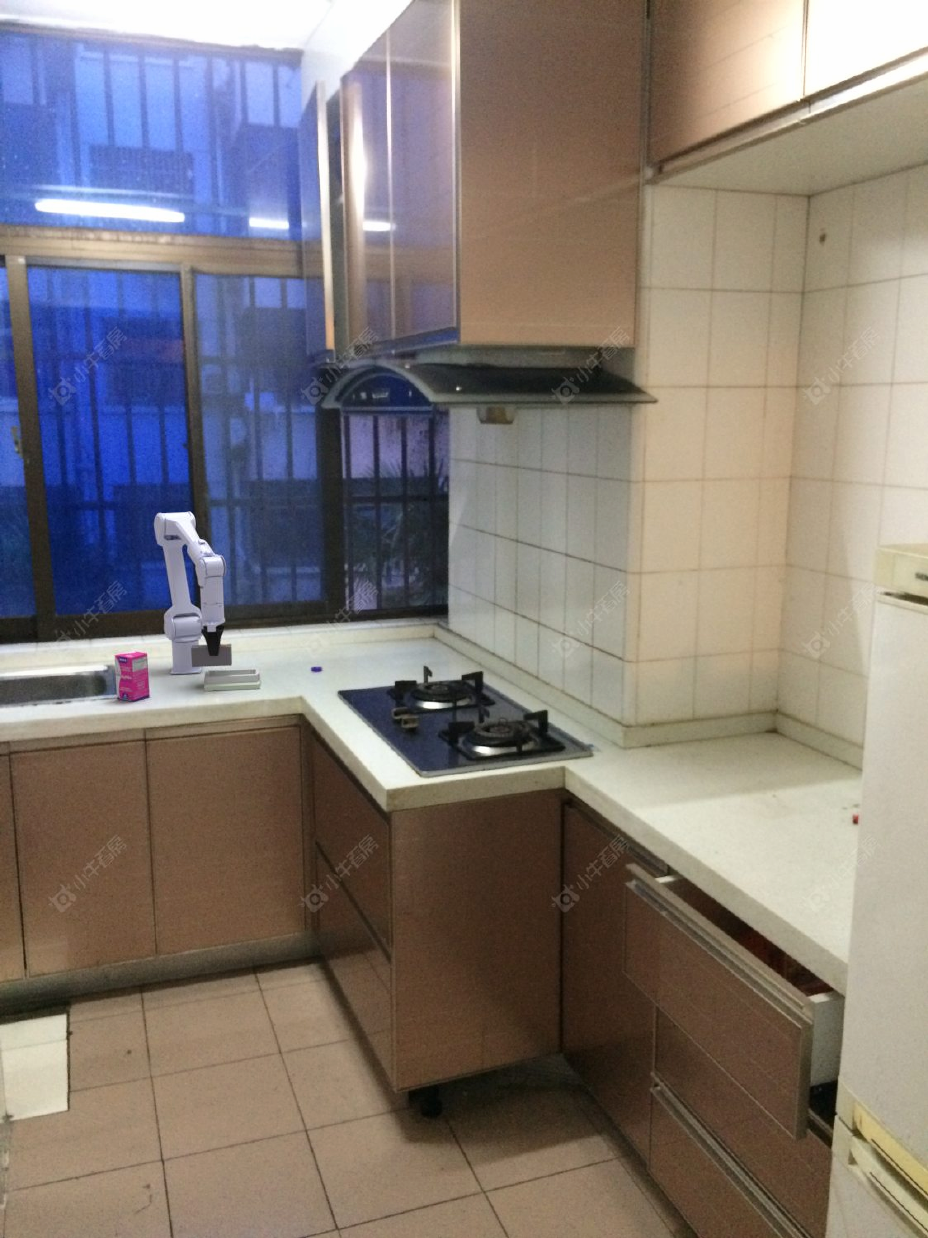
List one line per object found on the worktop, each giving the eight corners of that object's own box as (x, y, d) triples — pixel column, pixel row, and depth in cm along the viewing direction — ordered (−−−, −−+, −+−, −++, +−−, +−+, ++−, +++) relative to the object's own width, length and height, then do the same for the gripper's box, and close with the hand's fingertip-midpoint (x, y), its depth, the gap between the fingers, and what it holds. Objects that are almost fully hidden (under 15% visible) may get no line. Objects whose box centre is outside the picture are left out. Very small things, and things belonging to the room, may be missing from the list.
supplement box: (116, 699, 256) (113, 654, 254) (133, 694, 261) (131, 650, 259) (133, 702, 253) (130, 657, 251) (150, 697, 259) (148, 652, 256)
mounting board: (206, 678, 278) (206, 667, 277) (259, 676, 280) (259, 665, 280) (204, 691, 264) (203, 679, 264) (259, 688, 267) (259, 677, 266)
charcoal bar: (193, 663, 271) (192, 644, 270) (232, 662, 272) (231, 642, 271) (191, 667, 267) (191, 647, 266) (231, 665, 268) (230, 645, 268)
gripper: (198, 598, 273) (200, 648, 275) (194, 607, 259) (196, 660, 261) (225, 597, 274) (227, 647, 277) (222, 606, 260) (225, 659, 263)
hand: (214, 653), depth 269 cm, fingers closed on charcoal bar, 4 cm apart
